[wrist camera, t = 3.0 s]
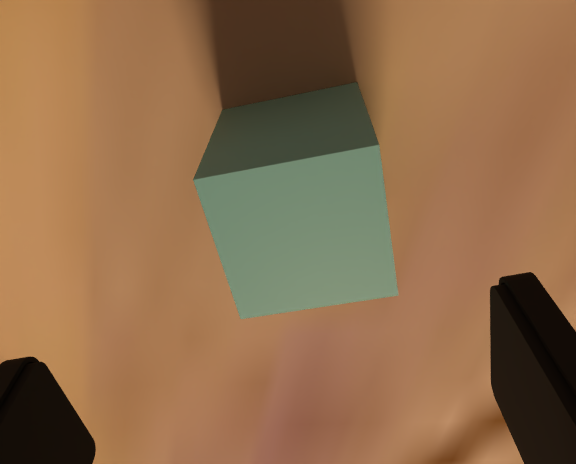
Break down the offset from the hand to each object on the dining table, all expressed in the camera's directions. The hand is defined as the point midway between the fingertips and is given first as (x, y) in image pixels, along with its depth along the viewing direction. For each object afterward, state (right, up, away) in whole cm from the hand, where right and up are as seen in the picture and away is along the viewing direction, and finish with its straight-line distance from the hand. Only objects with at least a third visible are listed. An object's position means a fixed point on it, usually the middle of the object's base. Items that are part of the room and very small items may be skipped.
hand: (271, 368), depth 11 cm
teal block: (+1, +6, +9) cm, 11 cm away
